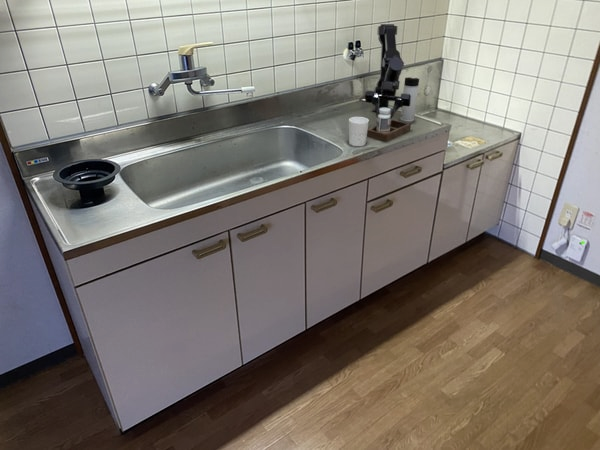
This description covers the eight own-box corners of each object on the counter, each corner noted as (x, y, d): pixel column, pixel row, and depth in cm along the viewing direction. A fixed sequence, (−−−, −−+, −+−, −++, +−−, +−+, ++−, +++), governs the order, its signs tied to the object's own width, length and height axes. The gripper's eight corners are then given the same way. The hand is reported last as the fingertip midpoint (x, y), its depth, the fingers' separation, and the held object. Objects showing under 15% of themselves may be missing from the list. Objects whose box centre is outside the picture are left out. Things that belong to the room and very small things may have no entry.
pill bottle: (392, 131, 197) (394, 108, 191) (385, 135, 193) (387, 112, 187) (380, 128, 200) (382, 106, 194) (373, 132, 196) (375, 109, 190)
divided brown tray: (391, 125, 208) (391, 118, 207) (410, 130, 202) (411, 124, 201) (366, 136, 197) (366, 129, 195) (385, 142, 191) (386, 135, 189)
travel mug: (398, 122, 211) (403, 78, 200) (401, 118, 216) (406, 74, 206) (412, 124, 209) (418, 79, 198) (415, 120, 214) (420, 75, 204)
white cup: (356, 138, 195) (357, 115, 189) (370, 143, 190) (372, 119, 185) (343, 143, 190) (344, 119, 185) (358, 148, 185) (360, 124, 180)
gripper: (367, 70, 189) (359, 105, 186) (413, 74, 184) (406, 110, 181) (369, 84, 200) (362, 117, 197) (413, 88, 194) (406, 122, 192)
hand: (383, 116), depth 191 cm, fingers closed on pill bottle, 5 cm apart
